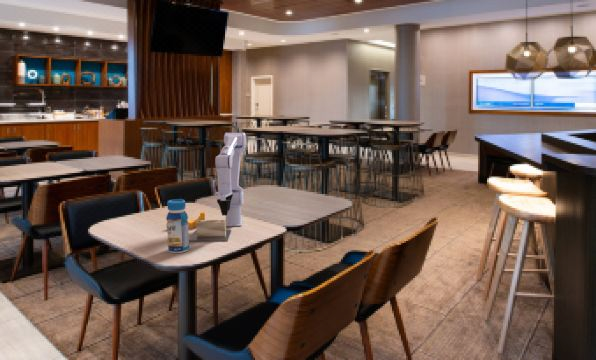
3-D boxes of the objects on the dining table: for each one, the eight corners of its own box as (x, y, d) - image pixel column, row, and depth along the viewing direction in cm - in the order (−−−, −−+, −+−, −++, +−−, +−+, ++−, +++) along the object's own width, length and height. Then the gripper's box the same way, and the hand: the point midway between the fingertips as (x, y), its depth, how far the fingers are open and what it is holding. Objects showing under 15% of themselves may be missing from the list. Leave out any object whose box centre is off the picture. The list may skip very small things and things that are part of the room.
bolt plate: (195, 231, 199) (195, 230, 199) (231, 231, 200) (231, 229, 200) (189, 241, 185) (189, 240, 185) (227, 241, 186) (227, 239, 186)
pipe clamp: (178, 228, 204) (177, 215, 203) (179, 226, 208) (178, 212, 207) (205, 227, 206) (204, 213, 205) (205, 224, 210) (204, 211, 209)
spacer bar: (198, 233, 194) (197, 219, 193) (226, 233, 195) (225, 219, 194) (196, 236, 190) (196, 222, 189) (225, 235, 191) (224, 221, 190)
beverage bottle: (193, 251, 175) (190, 201, 171) (172, 255, 170) (169, 204, 166) (185, 245, 181) (182, 197, 178) (164, 249, 177) (161, 200, 173)
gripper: (217, 179, 199) (219, 208, 202) (212, 186, 185) (214, 217, 188) (233, 179, 200) (234, 208, 202) (229, 185, 185) (230, 217, 188)
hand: (225, 212), depth 195 cm, fingers open, 7 cm apart
